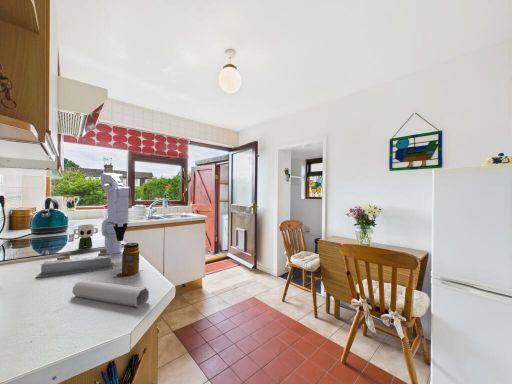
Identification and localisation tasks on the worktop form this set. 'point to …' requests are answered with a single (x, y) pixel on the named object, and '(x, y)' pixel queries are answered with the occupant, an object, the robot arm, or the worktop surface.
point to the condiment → (130, 261)
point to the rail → (75, 264)
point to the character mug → (85, 235)
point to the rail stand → (67, 255)
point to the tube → (111, 293)
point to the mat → (75, 271)
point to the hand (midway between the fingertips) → (120, 239)
